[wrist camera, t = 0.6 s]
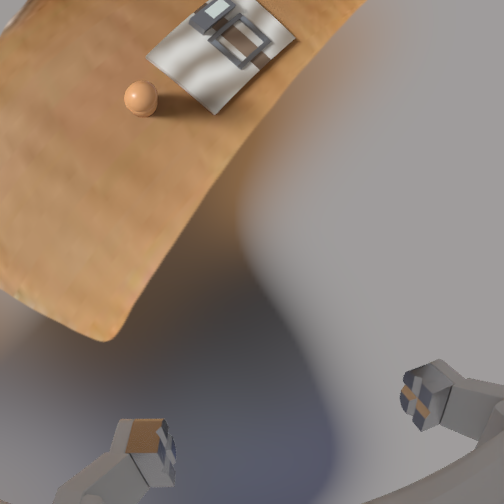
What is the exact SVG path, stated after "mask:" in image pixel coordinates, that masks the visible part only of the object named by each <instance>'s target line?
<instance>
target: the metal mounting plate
mask: <svg viewBox="0 0 504 504" xmlns="http://www.w3.org/2000/svg"><path fill="white" fill-rule="evenodd" d="M211 1H212V0H209V1H208V2H206V3H205V4H204V5H202V6H201V7H200V8H199V9H197V10H196V11H195V12H194V13H193V14H191V15H190V16H189V17H188V18H187V19H185V20H184V21H183V22H182V23H181V24H180V25H178V26H177V27H176V28H175V29H174V30H173V31H172V32H171V33H170V34H168V35H167V36H166V37H165V38H164V39H163V40H162V41H161V42H160V43H159V44H158V45H157V46H156V47H155V48H154V49H153V50H152V51H151V52H150V53H149V54H148V55H147V56H146V59H147V60H148V61H150V62H151V63H152V64H153V65H155V66H156V67H157V68H158V69H160V70H161V71H162V72H163V73H165V74H166V75H167V76H168V77H169V78H171V79H172V80H173V81H174V82H176V83H177V84H178V85H179V86H180V87H182V88H183V89H184V90H185V91H186V92H188V93H189V94H190V95H191V96H192V97H193V98H195V99H196V100H197V101H198V102H199V103H200V104H202V105H203V106H204V107H205V108H206V109H207V110H208V111H210V112H211V113H212V114H213V115H216V114H217V113H218V111H219V110H220V109H221V108H222V107H223V106H224V105H225V104H226V103H227V102H228V101H229V100H230V99H231V98H232V97H233V96H234V95H235V94H236V93H237V92H238V91H239V90H240V89H241V88H242V87H243V86H244V85H245V84H246V83H247V82H248V81H249V80H250V79H251V78H252V77H253V76H254V75H255V74H256V73H257V72H258V71H260V70H261V69H262V68H263V67H264V66H265V65H266V64H267V63H268V62H269V61H270V60H271V59H272V58H274V57H275V56H276V55H277V54H278V53H279V52H280V51H281V50H282V49H284V48H285V47H286V46H287V45H288V44H289V43H290V42H292V41H293V40H294V39H295V37H294V36H293V35H292V34H291V33H290V32H289V31H288V30H287V29H286V28H285V27H284V26H283V25H282V24H281V23H280V22H279V21H278V20H277V19H276V18H274V17H273V16H272V15H271V14H270V13H269V12H268V11H267V10H266V9H265V8H264V7H262V6H261V5H260V4H259V3H258V2H257V1H256V0H231V1H232V2H233V3H235V4H236V6H235V8H234V9H233V10H232V11H231V12H230V13H229V14H227V15H226V16H225V17H224V18H222V19H221V20H220V21H219V22H217V23H216V24H215V25H214V26H213V27H212V28H210V29H209V30H208V31H207V32H206V33H205V34H203V35H202V34H201V33H199V32H198V31H197V30H196V29H194V28H193V27H192V26H191V25H189V24H188V23H189V20H190V18H191V17H193V16H194V15H195V14H196V13H197V12H199V11H200V10H201V9H202V8H204V7H205V6H206V5H207V4H209V3H210V2H211Z"/></svg>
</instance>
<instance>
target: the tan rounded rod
mask: <svg viewBox="0 0 504 504" xmlns="http://www.w3.org/2000/svg"><path fill="white" fill-rule="evenodd" d="M157 100H158V93H157V90H156V88H155V86H154V85H153V84H152V83H150V82H147V81H137V82H134V83H133V84H131V85H130V86H129V87H128V88H127V90H126V92H125V96H124V101H125V104H126V106H127V108H128V109H129V110H130V111H131V112H133V113H134V114H135V115H136V116H138V117H148V116H150V115H152V114H153V113H154V112H155V110H156V108H157Z"/></svg>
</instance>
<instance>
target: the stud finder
mask: <svg viewBox="0 0 504 504" xmlns="http://www.w3.org/2000/svg"><path fill="white" fill-rule="evenodd" d="M235 6H236V4H235V3H233V2H232V1H231V0H212V1H211V2H210V3H209V4H207V5H206V6H205V7H204V8H202V9H201V10H200V11H199V12H197V13H196V14H195V15H194V16H193V17H191V18H190V20H189V23H188V24H189V25H191V26H192V27H193V28H194V29H196V30H197V31H198V32H199V33H201V34H202V35H203V34H205V33H206V32H207V31H208V30H209V29H210V28H212V27H213V26H214V25H215V24H216V23H217V22H219V21H220V20H221V19H222V18H224V17H225V16H226V15H227V14H229V13H230V12H231V11H232V10H233V9H234V8H235Z"/></svg>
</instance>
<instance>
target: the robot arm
mask: <svg viewBox="0 0 504 504" xmlns="http://www.w3.org/2000/svg"><path fill="white" fill-rule="evenodd" d="M403 382H404V383H405V386H404V387H403V389H402V390H401V393H400V402H401V406H402V408H403V410H404V411H405V413H406V414H409V415H412V416H413V419H412V421H413V423H414V424H415V425H416V426H417V427H418V428H419V430H420V431H421V432H422V431H424V430H427V429H429V428H432V427H434V426H436V425H438V424H440V425H442V426H444V427H446V428H448V429H451V430H453V431H455V432H458V433H460V434H462V435H465V436H467V437H470V438H472V439H474V440H477V441H478V444H477V445H476V447H475V449H474V450H473V451H471V452H470V453H468V454H467V455H465V456H463V457H462V458H460V459H458V460H457V461H455V462H453V463H451V464H450V465H448V466H446V467H444V468H442V469H440V470H439V471H436V472H435V473H433V474H431V475H429V476H427V477H425V478H423V479H420V480H418V481H416V482H414V483H412V484H410V485H408V486H405V487H403V488H401V489H398V490H396V491H394V492H391V493H389V494H387V495H384V496H381V497H379V498H376V499H373V500H371V501H368V502H365V503H362V504H504V385H500V384H495V383H490V382H484V381H480V380H475V379H471V378H467V379H465V378H464V377H462V376H461V375H460V374H459V373H458V372H456V371H455V370H454V369H453V368H452V367H450V366H449V365H448V364H447V363H446V362H444V361H443V360H441V359H438V360H435V361H433V362H430V363H428V364H426V365H423V366H420V367H418V368H415V369H412V370H410V371H407V372H406V373H405V375H404V377H403ZM168 429H169V426H168V424H167V422H166V420H165V419H121V420H120V421H119V422H118V425H117V428H116V431H115V435H114V438H113V441H112V445H111V448H110V451H109V453H104V454H103V455H101V456H100V457H99V458H97V459H96V460H95V461H94V462H92V463H91V464H90V465H88V466H87V467H86V468H84V469H83V470H82V471H80V472H79V473H78V474H76V475H75V476H74V477H73V478H71V479H70V480H68V481H67V482H66V483H64V484H63V485H62V486H60V487H59V488H58V490H57V493H56V496H55V499H54V501H53V504H137V503H138V502H139V501H140V499H141V498H142V497H143V496H144V494H145V493H146V492H147V491H148V490H149V487H174V485H175V470H174V467H173V464H174V463H175V462H176V446H175V442H174V440H173V437H172V436H171V435H170V434H168ZM0 504H11V503H8V502H5V501H3V500H0Z"/></svg>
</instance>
